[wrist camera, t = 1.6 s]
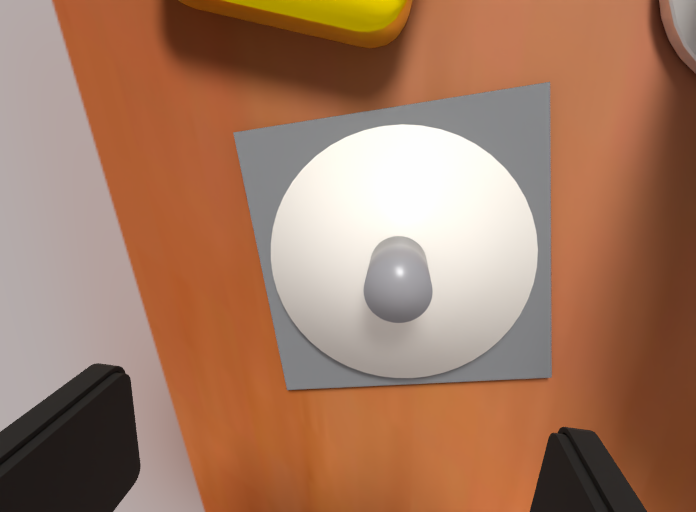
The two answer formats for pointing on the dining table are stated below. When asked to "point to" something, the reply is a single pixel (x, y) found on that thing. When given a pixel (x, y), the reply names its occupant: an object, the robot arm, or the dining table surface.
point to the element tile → (321, 17)
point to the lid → (404, 251)
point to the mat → (447, 114)
